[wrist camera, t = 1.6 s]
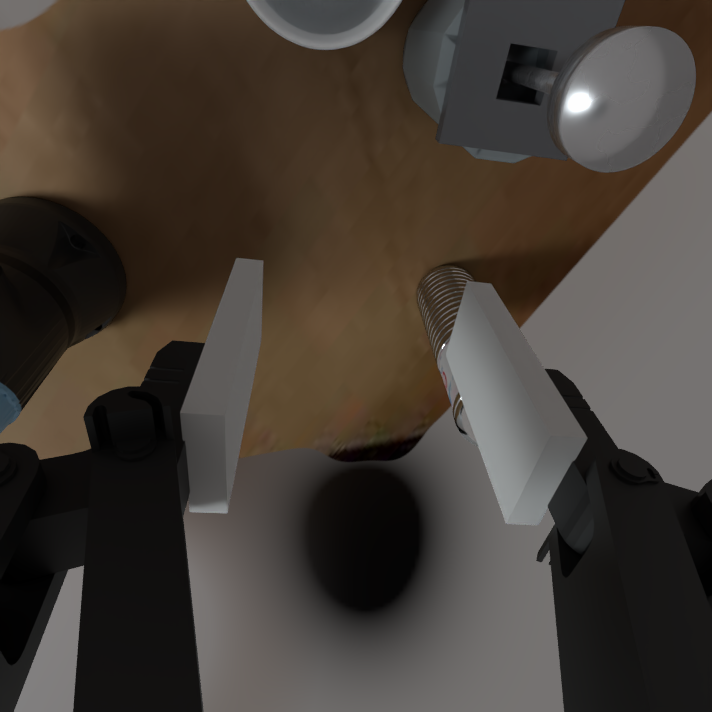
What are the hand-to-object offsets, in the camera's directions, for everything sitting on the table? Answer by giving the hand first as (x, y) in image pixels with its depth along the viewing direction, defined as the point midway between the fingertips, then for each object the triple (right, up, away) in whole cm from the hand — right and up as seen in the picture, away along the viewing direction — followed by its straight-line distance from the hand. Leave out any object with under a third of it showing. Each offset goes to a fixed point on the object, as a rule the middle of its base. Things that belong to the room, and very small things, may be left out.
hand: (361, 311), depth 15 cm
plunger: (+9, +18, +17) cm, 26 cm away
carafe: (+9, +25, +26) cm, 37 cm away
